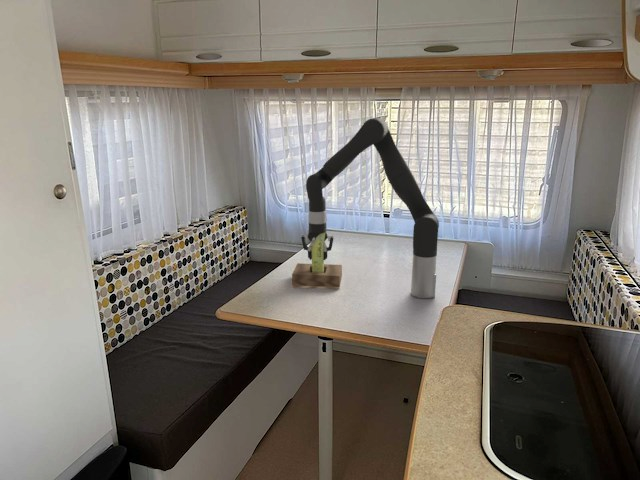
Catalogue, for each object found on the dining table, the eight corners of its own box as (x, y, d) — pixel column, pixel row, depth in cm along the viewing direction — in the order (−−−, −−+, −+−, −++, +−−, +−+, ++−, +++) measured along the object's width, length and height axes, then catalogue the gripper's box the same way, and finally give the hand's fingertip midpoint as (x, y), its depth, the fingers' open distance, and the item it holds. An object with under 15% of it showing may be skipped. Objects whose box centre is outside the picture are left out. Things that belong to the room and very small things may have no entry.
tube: (312, 276, 203) (312, 232, 198) (309, 272, 208) (309, 228, 203) (325, 274, 205) (325, 230, 200) (321, 270, 210) (321, 227, 204)
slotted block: (341, 277, 213) (341, 264, 212) (339, 289, 200) (339, 275, 198) (297, 275, 216) (297, 263, 214) (292, 287, 202) (292, 274, 201)
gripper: (299, 222, 197) (299, 261, 202) (333, 223, 196) (333, 262, 201) (301, 218, 205) (302, 256, 209) (335, 219, 203) (335, 257, 208)
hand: (317, 259), depth 205 cm, fingers closed on tube, 5 cm apart
